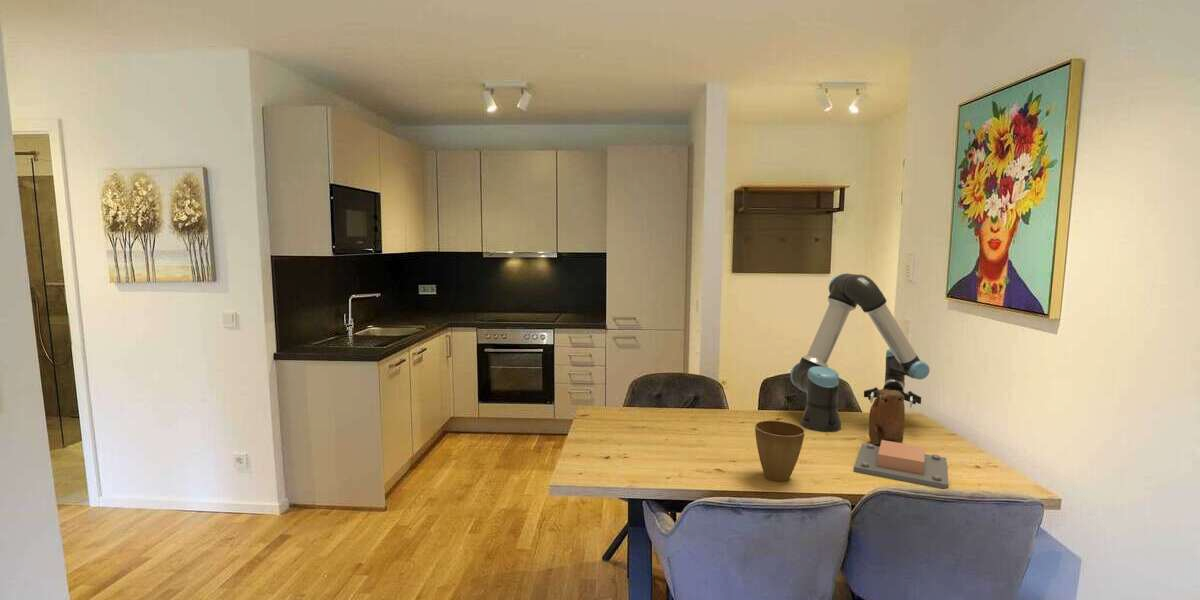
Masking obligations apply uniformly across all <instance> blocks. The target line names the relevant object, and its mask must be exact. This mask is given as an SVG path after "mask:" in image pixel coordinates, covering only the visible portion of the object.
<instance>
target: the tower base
mask: <svg viewBox="0 0 1200 600" xmlns="http://www.w3.org/2000/svg"><path fill="white" fill-rule="evenodd" d="M925 447H926V446H920V445H915V444H909V443H903V442H902V443H897V442H891V441H885V440H882V441H881V445H875V444H873V443H862V444H861V446H860V448H859V452H858V455H857V457H856V459H855V462H854V465H853V472H854V473H861V474H865V475H871V476H875V477H880V478H885V479H886V478H887V479H891V480H897V481H901V482H906V483H910V484H911V483H913V484H917V485H922V486H928V487H933V488H937V487H938V488H939V489H943V488H948V489H949V484H950V483H949V474H948V464H947V463H948V462H947V457H945V456H940V455H938V454H926V453H925V451H926V449H925Z"/></svg>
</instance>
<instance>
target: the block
mask: <svg viewBox="0 0 1200 600" xmlns="http://www.w3.org/2000/svg"><path fill="white" fill-rule="evenodd" d="M904 401H905V400H904V395H903V394H901V392H899V391H896V390H887V389H883V388H882V390H881V389H879V390H878V392H877V398H874V399H873V402H872V403H871V404H872V405H871V407H870V410H869V417H868V420H869V421H868V437H869V441H870V442H871V444H873V445H875V446H880V445H881V441H882V440H885V441H891V442H897V443H903V441H904V435H905V418H906V417H905V416H906V415H905V413H906V411H905V410H906V409H905V402H904Z"/></svg>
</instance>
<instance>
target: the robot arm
mask: <svg viewBox="0 0 1200 600" xmlns="http://www.w3.org/2000/svg"><path fill="white" fill-rule="evenodd" d="M828 292H829V295H828V297H827V302H828V303H829V304H828V306H827V309H826V311H825V314H824V316H823V318H822V320H821V321H820V325H819V327H818V329H817V331H816V334H815V336H814V338H813V341H812V343H811V346H810V348H809V350H808V353H807V354H806V355H804V356H801V358H800V361H799V362H798V363H797V364H795V365H793V367H792V368H791V371H790V380H791V382H792V384H793V386H794V387H795V388H796V389H798V390H799V391H801V392H803V393H805V394H806V406H805V409H804V411H803V414H802V416H801V420H800V421H801V423H800V424H801V425H802V426H803V427H804V428H807V429H810V430H813V431H819V432H838V431H840V430H841V429H842V422H841V421H842V420H841V418H840V414H839V410H838V400H839V385H840V379H839V378H840V377H839V373H838V371H836V370H835V369H833V368H831V367H829V365H828V361H829V359H830V357H831V354H832V353H833V350H834V347H835V346H836V344H837V341H838V339H839V337H840V334H841V331H842V330H843V328H844V325H845V323H846V321H847V319H848V316H849V314H850V312H851V311H854V310H855V309H856V308H857V305H858V306H859V307H860V309H861V310H862V311H863V313H865V314H868V316H869V317H870V320H871V321H872V322H873V324H874V326H875V328H876V329H877V331H878V332H879V333H880V335H881V337H882V339H883V340H884V342H885V343H886V345H887V347H888V349H887V350H886V355H885V374H884V385H883V388H882V389H887V390H896V391H899V392H901V394H903V395H904V401H905V402H909V408H911V409H912V408H913V405H916V404H919V405H922V396H919V395H917V394H916V393H915V392H912V391H911V390H909V391H907V392H905V391H904V390H905V387H906V386H905V384H906V382H905V379H906V377H905V376H907V377H909V378H911V379H916V380H918V381H919V380H923V379H926V378H927V377H928V376H929V374H930V365H928V364H927V363H926V362H925V361H923V360H921V359H920V358H919V356H918V355H917V353H916V352H915V350H914V348H913V346H912V345H911V343H910V341H909V340H908V338H907V336H906V335H905V333H904V332H903V329H902V328H901V327H900V325H899V324H898V322H897V320H896V318H895V317H894V315H893V314H892V312H891V310H890V309H889V307H888V305H887V302H888V301H887V299H886V297H885V295H884V294H883V292H882V291H881V289H880V288H879V286H878V285H877V284H876V282H875V281H873V279H871V278H870V277H869V276H867V275H864V274H856V273H855V274H854V273H841V274H837V275H836V276H834V277H833V278H832V279H831V280H830V281H829V284H828ZM882 389H880V388H878V387H877V386H876V387H873V388H870V389H865V390H863V397H864V398H867V399H868V401H869V402H870V404H873V402H874V400H875V399H876V398H877V392H878V390H882Z"/></svg>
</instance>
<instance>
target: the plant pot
mask: <svg viewBox="0 0 1200 600" xmlns="http://www.w3.org/2000/svg"><path fill="white" fill-rule="evenodd" d="M754 430H755V431H754V432H755V433H754V434H755V440H756V441H755V442H756V447H757V453H758V457H759V462H760V464H761V468H762V471H763V475H764V476H765V478H766V479H767V480H770V481H774V482H781V483H782V482H787V481H789V480H790V479H791V476H792V475H793V472H794V470H795V467H796V465H797V462H798V459H799V456H800V453H801V450H802V447H803V443H804V439H805V438H804V437H805V433H806V430H805V429H804V428H803V427H802V426H800V425H797V424H795V423H792V422H789V421H788V422H787V421H780V420H761V421H758V422H756V423H754Z"/></svg>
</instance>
